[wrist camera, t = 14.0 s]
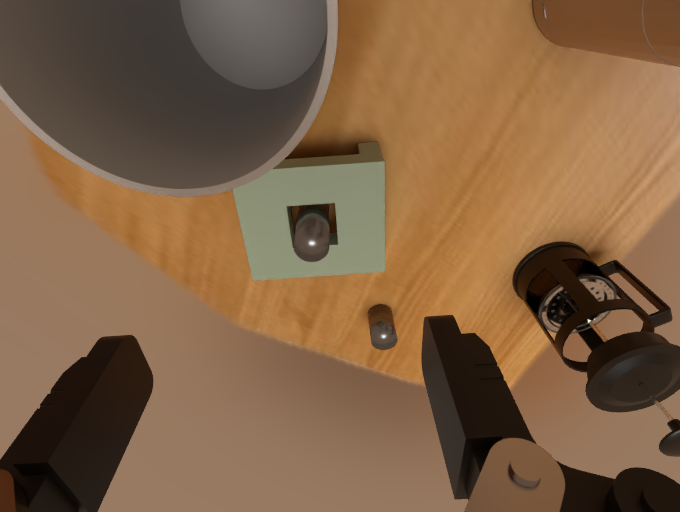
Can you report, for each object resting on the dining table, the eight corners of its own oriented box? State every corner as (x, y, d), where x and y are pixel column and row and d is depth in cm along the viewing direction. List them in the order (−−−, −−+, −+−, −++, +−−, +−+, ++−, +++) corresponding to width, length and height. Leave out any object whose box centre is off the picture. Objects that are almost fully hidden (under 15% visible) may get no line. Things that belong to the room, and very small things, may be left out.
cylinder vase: (347, -57, 32) (385, -181, 11) (315, 102, 38) (300, 223, 17) (187, -107, 30) (-154, -379, 9) (182, 69, 36) (-21, 158, 15)
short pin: (391, 303, 52) (397, 330, 47) (391, 321, 53) (397, 349, 49) (367, 305, 52) (370, 331, 48) (368, 323, 53) (371, 350, 49)
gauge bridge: (377, 141, 40) (384, 161, 35) (378, 242, 47) (384, 271, 42) (241, 151, 40) (228, 172, 35) (261, 250, 47) (253, 280, 42)
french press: (520, 315, 53) (629, 492, 34) (497, 266, 49) (607, 437, 30) (609, 277, 50) (787, 448, 31) (593, 221, 46) (788, 380, 26)
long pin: (328, 185, 43) (328, 230, 34) (330, 212, 44) (330, 260, 36) (298, 187, 43) (291, 232, 34) (302, 214, 44) (295, 263, 36)
